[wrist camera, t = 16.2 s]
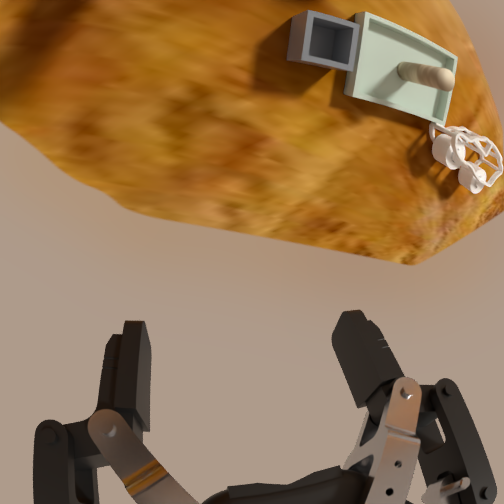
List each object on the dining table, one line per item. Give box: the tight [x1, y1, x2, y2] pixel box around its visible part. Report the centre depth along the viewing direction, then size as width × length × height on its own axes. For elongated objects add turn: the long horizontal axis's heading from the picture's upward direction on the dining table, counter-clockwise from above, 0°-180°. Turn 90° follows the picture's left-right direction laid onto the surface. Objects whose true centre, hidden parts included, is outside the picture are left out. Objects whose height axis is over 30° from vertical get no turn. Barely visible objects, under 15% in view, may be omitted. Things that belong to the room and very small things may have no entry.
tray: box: [343, 12, 458, 126], centre depth 34 cm, size 14×20×3 cm
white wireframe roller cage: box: [429, 122, 503, 194], centre depth 42 cm, size 20×11×7 cm, turn 64°
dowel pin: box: [397, 62, 455, 92], centre depth 30 cm, size 3×3×10 cm
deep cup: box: [286, 10, 360, 72], centre depth 30 cm, size 7×7×6 cm
